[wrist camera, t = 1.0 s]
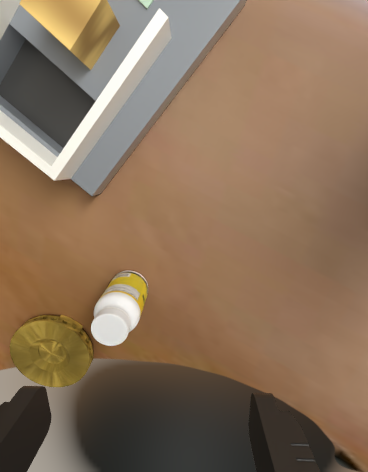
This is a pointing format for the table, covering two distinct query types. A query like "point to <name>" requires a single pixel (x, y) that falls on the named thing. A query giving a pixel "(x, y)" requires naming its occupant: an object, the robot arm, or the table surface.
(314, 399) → the table surface
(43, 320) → the gold flat disc
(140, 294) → the supplement bottle
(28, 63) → the walled pit deck
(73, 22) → the mustard block
